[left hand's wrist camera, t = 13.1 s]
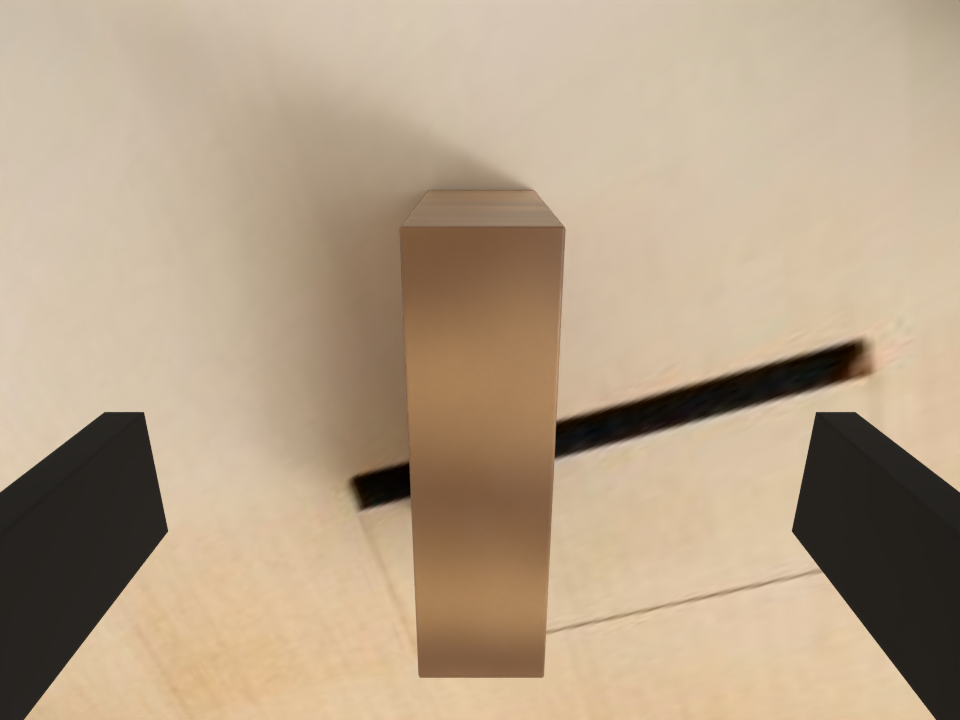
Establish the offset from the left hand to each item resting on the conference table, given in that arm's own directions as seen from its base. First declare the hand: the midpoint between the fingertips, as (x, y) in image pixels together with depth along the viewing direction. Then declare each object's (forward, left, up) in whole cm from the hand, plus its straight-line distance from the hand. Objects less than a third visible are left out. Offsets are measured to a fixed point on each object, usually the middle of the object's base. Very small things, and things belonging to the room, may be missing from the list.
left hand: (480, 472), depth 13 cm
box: (+6, +2, -24) cm, 25 cm away
